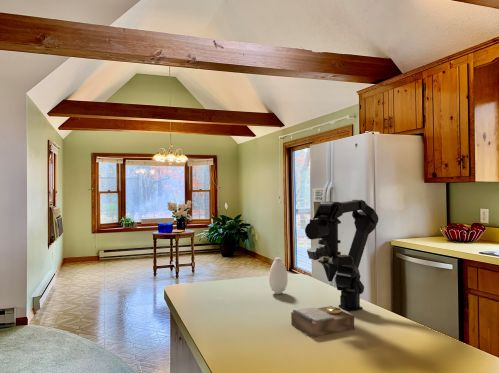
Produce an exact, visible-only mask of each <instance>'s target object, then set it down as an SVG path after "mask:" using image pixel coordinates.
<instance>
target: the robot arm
mask: <svg viewBox="0 0 499 373" xmlns="http://www.w3.org/2000/svg"><path fill="white" fill-rule="evenodd" d="M350 212H352V213H351V216H352V217H353V220H354V222H353V223H354V227H355V231H354V232H355V233H354V236H353V239H352V241H351V244H350V249H349V251H348V254H342V253H341V251H339V244H341V242H342V241H341V240H340V239H339V224H342V221H341V220H340V219H339V218H340V217H342V216H343V214H345V213H350ZM378 223H379V215H378V213H377V212H376V211H375V209H374V208H373V207H371V206H369V205H368V204H367V203H366V201H365V200H363V199H352V200H347V201H341V202H340V201H321V202H319V204H318V206H317V209H316V212H315V213H314V214H313V217H312V218H310V219H309V223H307V224H306V226H305V229H304V232H305V235H306V237H307V238H308V239H309V240H318V244H316V245H313V246H311V247H309V248H308V249H306V253H307V256H308V258H309V259H310V260H313V261H317V262H318V263H319V264H321V266H322V267H323V269H324V272H325V275H326V278H327V281H328V282H333V280H334V281H335V286H336V290H337V291H340V295H339V296H340V297H339V298H340V299H339V300H340V301H339V302H340V303H339V304H338V308H340V309H341V308H342V309H343V310H346V311H347V312H349V311H350V312H351V311H352V312H353V311H357V310H358V311H359V310H362V309H363V307H362V306H361V305H360V304H361V301H360V300H361V299H360V298H361V296H360V295H362V294H363V293H364V291H365V286H364V284H363V283H362V281H361V273H360V270H359V267H360V263H361V260H362V257H363V253H364V251H365V247H366V245H367V241H368V239H369V235H370V234H371V233H372V232H373V231H375V229H376V226H377V225H378Z"/></svg>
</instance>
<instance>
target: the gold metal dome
mask: <svg viewBox="0 0 499 373" xmlns="http://www.w3.org/2000/svg"><path fill="white" fill-rule="evenodd" d="M341 311H342V309H341V307H334V306H332V307H329V308H327V313H328V314H332V315H337V314H341Z"/></svg>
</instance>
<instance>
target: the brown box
mask: <svg viewBox="0 0 499 373" xmlns="http://www.w3.org/2000/svg"><path fill="white" fill-rule="evenodd" d="M329 307H333V305H329V306H324V307H318V308H317V307H316V308H317V309H319V310H321V311H323V312H325V313H327V308H329ZM290 312H291V313H290V314H291V315H290V316H291V317H290V319H291V320H290V321H291V322H290V324H291V326H293V327H295V328H297V329H298V330H300V331H301V332H303V333H305V334H306V335H308V336H309V337H311V338H313V337H315V338H316V337H320V336H324V335H330V334H335V333H340V332H347V331H351V330H355V316H354V315H352V314H350V313H348V312H346V311H343V310H341V314H337V315H332V314H329V315H331V316H333V317H334V319H331V320H326V321H320V322H314V321H312V319H311V318H309V317H307V316H306V315H304V314H302V313H300V312H298V311H297V309H293V310H292V311H290ZM327 314H328V313H327Z"/></svg>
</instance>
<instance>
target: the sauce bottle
mask: <svg viewBox="0 0 499 373" xmlns="http://www.w3.org/2000/svg"><path fill="white" fill-rule="evenodd" d="M279 254H280V253H277V257H274V260H273V262H272V264H271V266H270V269H269V274H268V283H269V287H270V289H271V291H273V293H274V294H276V293H277V294H276V295H280V293H281V294H283V292H285V291H286V288H287V287H288V286H287V285H288V280H289V279H288V272H287V268H286V266H285V263H284V262H283V261H282V258H281V257H280V255H279Z"/></svg>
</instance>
